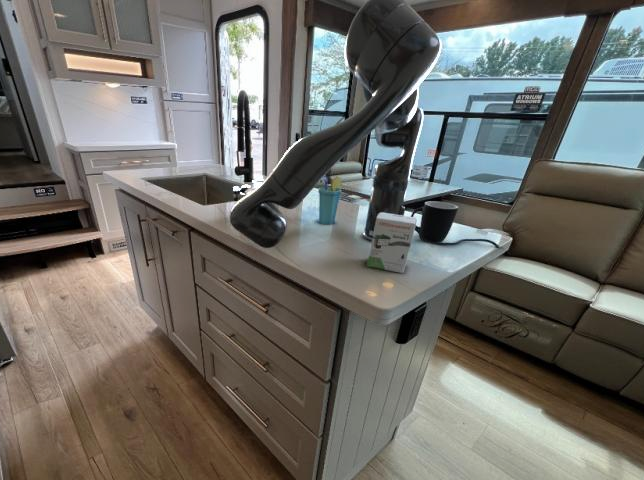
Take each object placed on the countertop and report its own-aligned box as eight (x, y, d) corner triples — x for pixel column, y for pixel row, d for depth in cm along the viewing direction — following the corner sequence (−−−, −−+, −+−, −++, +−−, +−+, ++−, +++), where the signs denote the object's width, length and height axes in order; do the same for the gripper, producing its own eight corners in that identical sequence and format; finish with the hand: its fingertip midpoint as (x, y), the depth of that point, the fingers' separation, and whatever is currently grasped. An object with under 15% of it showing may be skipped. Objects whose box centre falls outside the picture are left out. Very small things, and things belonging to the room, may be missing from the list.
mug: (450, 238, 96) (461, 204, 91) (444, 246, 90) (455, 210, 85) (411, 230, 102) (418, 198, 97) (402, 237, 95) (410, 203, 90)
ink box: (366, 266, 75) (375, 216, 69) (369, 259, 79) (378, 211, 73) (404, 273, 72) (416, 222, 66) (405, 265, 76) (417, 216, 70)
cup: (328, 230, 98) (333, 179, 91) (305, 225, 101) (309, 176, 94) (343, 220, 109) (349, 174, 102) (323, 216, 112) (327, 171, 105)
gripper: (291, 186, 72) (287, 175, 86) (228, 184, 71) (235, 173, 85) (290, 219, 76) (286, 203, 90) (230, 217, 75) (236, 201, 89)
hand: (261, 188), depth 87 cm, fingers open, 8 cm apart
